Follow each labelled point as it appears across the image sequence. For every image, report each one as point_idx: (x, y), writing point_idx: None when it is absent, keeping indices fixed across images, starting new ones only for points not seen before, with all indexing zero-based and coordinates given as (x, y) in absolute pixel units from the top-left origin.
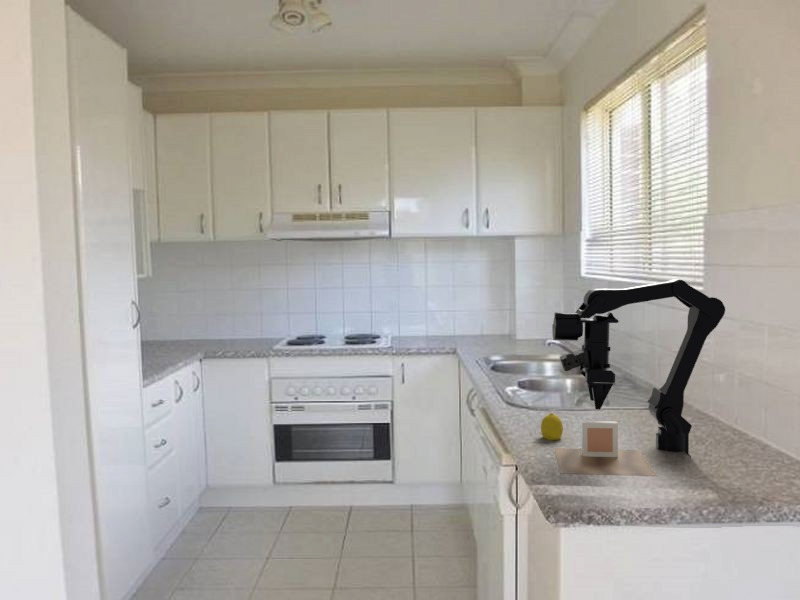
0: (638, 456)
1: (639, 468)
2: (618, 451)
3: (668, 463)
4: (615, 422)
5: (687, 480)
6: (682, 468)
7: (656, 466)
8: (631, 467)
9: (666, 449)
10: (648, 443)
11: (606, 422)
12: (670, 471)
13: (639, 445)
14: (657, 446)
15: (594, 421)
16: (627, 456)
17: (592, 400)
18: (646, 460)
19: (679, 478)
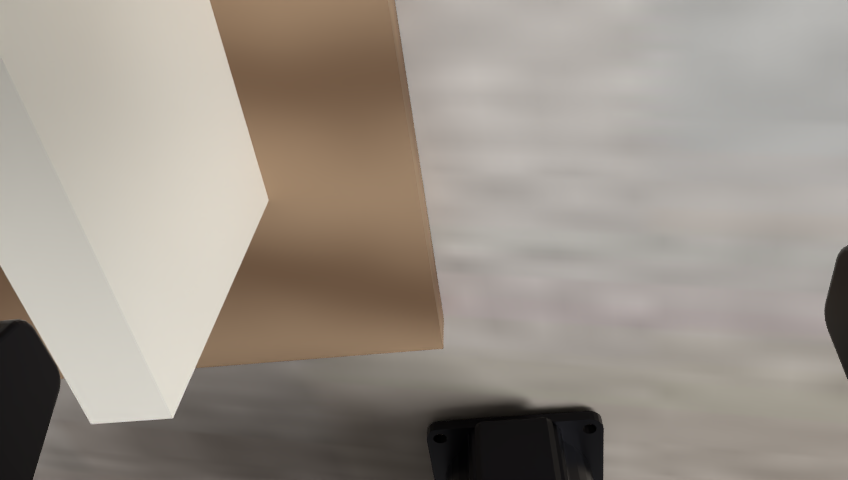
0: (280, 330)
1: (12, 317)
2: (367, 215)
3: (336, 433)
4: (114, 406)
5: (80, 471)
6: (268, 475)
7: (256, 379)
8: (4, 276)
9: (463, 476)
10: (759, 382)
11: (60, 322)
12: (192, 427)
13: (710, 331)
14: (500, 447)
15: (35, 180)
16: (256, 267)
17: (834, 274)
18: (209, 364)
19: (93, 448)
